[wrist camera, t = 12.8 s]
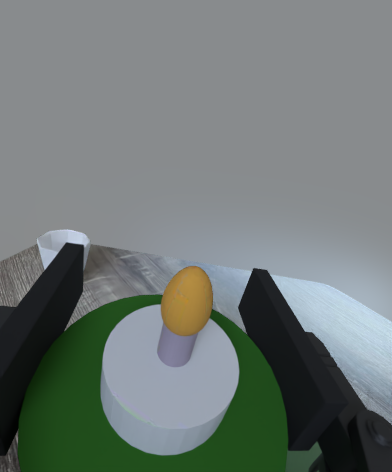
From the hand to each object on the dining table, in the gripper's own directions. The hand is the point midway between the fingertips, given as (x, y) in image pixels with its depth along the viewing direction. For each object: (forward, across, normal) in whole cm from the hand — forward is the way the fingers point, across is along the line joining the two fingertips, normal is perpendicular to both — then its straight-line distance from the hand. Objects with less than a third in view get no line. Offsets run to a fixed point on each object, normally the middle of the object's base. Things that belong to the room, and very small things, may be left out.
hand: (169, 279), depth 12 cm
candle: (-5, 0, -6) cm, 8 cm away
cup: (+24, -13, -20) cm, 34 cm away
